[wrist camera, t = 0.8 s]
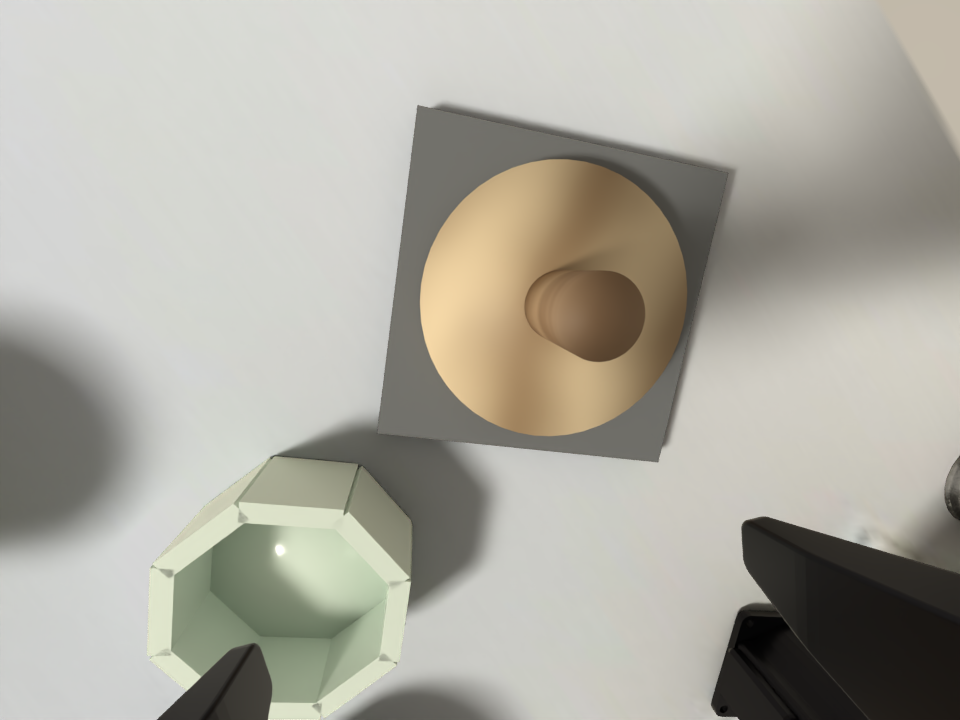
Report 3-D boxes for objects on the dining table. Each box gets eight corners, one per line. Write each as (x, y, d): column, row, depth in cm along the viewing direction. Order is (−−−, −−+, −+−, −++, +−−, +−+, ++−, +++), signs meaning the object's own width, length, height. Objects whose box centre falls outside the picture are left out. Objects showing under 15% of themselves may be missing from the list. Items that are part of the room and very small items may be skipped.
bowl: (420, 469, 21) (420, 515, 17) (395, 641, 22) (390, 720, 19) (205, 449, 19) (152, 495, 15) (195, 635, 21) (145, 718, 17)
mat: (713, 177, 20) (728, 172, 19) (647, 453, 22) (658, 462, 21) (417, 114, 18) (417, 105, 17) (379, 425, 20) (376, 433, 19)
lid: (700, 193, 19) (808, 164, 14) (642, 440, 21) (718, 497, 16) (440, 138, 17) (449, 81, 12) (403, 413, 19) (398, 468, 14)
